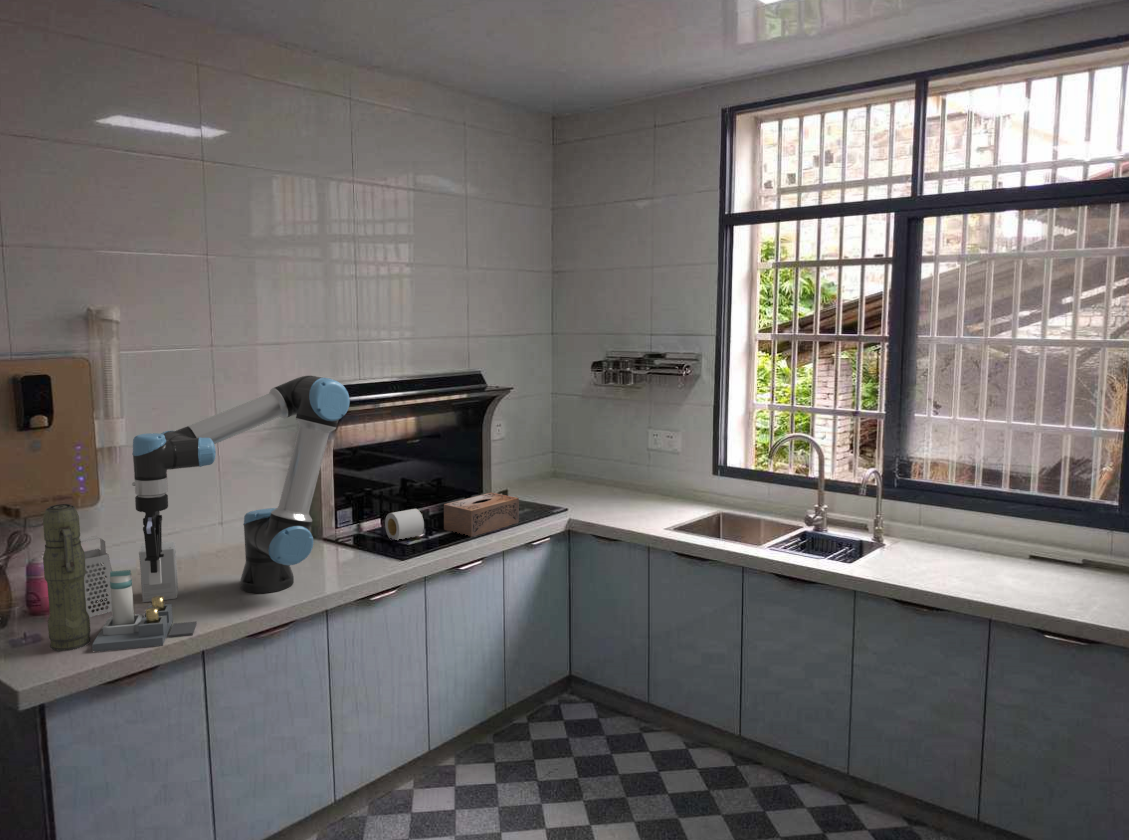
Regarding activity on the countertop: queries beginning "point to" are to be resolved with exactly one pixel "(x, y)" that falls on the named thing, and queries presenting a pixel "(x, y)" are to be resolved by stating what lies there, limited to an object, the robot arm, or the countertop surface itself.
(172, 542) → the supplement box
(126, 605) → the cartridge
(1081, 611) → the countertop surface
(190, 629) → the mat
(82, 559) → the thermos
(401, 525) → the toilet paper
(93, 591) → the grater
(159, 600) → the plunger
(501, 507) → the tissue box cover
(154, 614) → the plunger
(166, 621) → the housing
